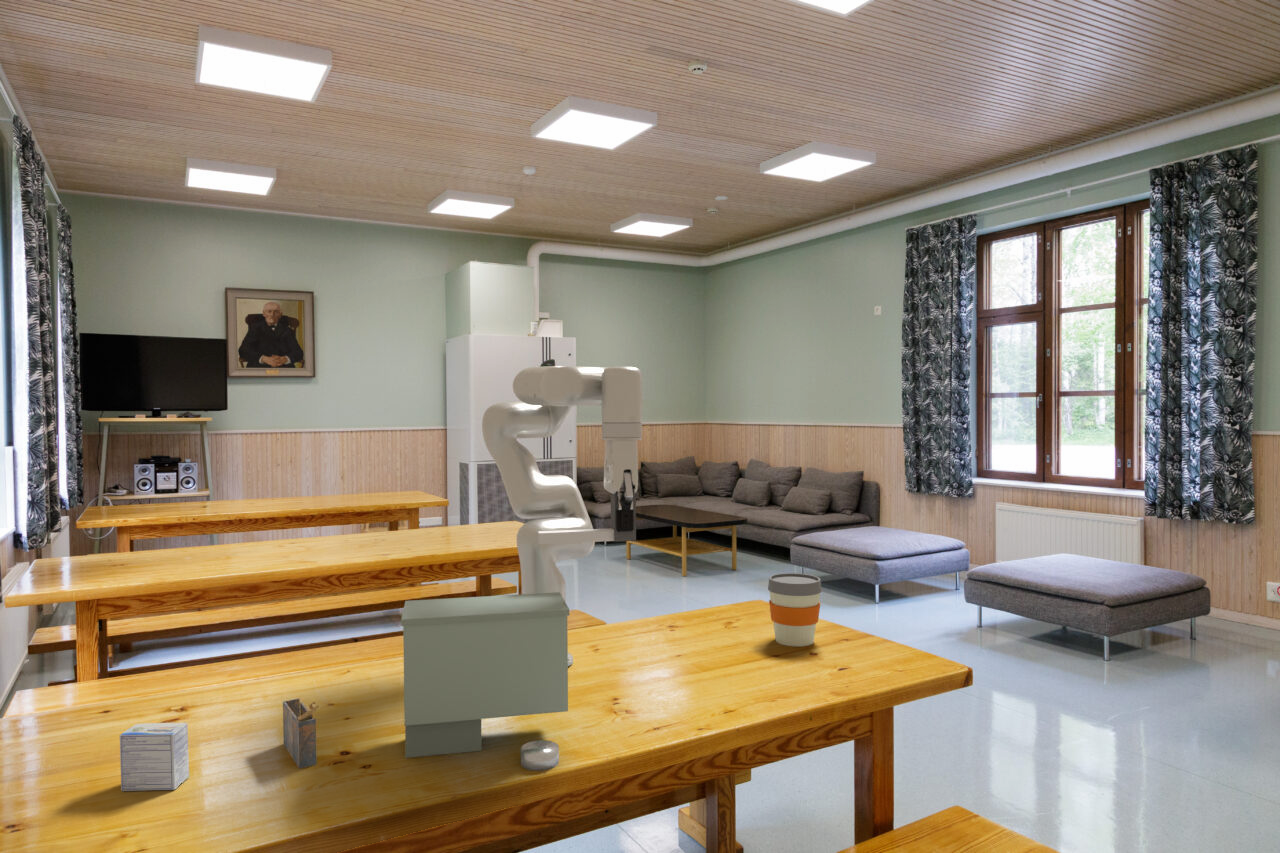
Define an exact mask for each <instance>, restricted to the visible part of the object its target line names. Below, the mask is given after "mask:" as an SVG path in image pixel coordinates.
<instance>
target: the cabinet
mask: <svg viewBox="0 0 1280 853" xmlns="http://www.w3.org/2000/svg"><path fill="white" fill-rule="evenodd" d="M569 616H570V608H569V606H568V605H567V603H565V601H564V599H563V597H562V596H561V594H560V592H557V593H539V594H522V593H521V594H505V595H490V596H489V595H488V596H485V595H484V596H469V597H453V598H452V597H450V598H434V599H419V600H418V599H416V600H415V599H414V600H405V602H404V606H403V610H402V614H401V619H400V626H402V628H403V629H402V630H403V632H402V633H403V635H402V636H403V638H402V639H403V640H402V641H403V642H402V643H403V706H404V707H403V709H404V713H403V714H404V717H403V718H404V730H405V732H404V733H405V734H404V736H405V758H406V759H408V758H409V759H410V758H419V757H431V756H437V755H438V756H439V755H440V756H441V755H449V754H459V753H471V752H481V751H482V749H483V748H482V737H483V736H482V720H484V719H498V718H507V717H519V716H528V715H529V716H531V715H542V714H553V713H565V712H569V680H568V679H569V675H568V674H569V668H568V667H569V666H568V653H569V650H568V649H569V646H568V645H569V644H568V635H569V634H568V617H569Z"/></svg>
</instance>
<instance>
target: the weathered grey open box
mask: <svg viewBox="0 0 1280 853" xmlns="http://www.w3.org/2000/svg"><path fill="white" fill-rule="evenodd" d="M300 700H301V699H300V698H299V697H298V698H292V699H287V700H283V701H282V722H283V724H282V726H283V727H282V728H283V730H282V731H283V737H282V738H283V745H284V747H285V749H286V750H287V752H288V753H289V754H290V756H291V758H292V759H293V761H294V763H295V764H296V766H297V767H298V769H299V770H300V769H304V768H307V767H312V766H315V765H317V761H318V759H317V719H316V718H313V713H314V712H316V711H317V708H319V705H318V704H317V705H316V701H313V702H311V704H310V703H309V704H308V707H309V708H307V706H306V705H305V704H304V702H303V701H300Z"/></svg>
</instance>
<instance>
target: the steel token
mask: <svg viewBox="0 0 1280 853" xmlns="http://www.w3.org/2000/svg"><path fill="white" fill-rule="evenodd" d="M559 762H560V747H559V744H557V743H556V742H555V741H551V740H546V739H545V740H544V739H543V740H541V739H540V740H533V741H529V742H527V743H524V744H523V745H522V746H521V747H520V766H521V767H522V768H524V769H525V770H527V771H533V772H542V771H548V770H552V769H554V768H555V767H557V766H558V765H559V764H560V763H559Z"/></svg>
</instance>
